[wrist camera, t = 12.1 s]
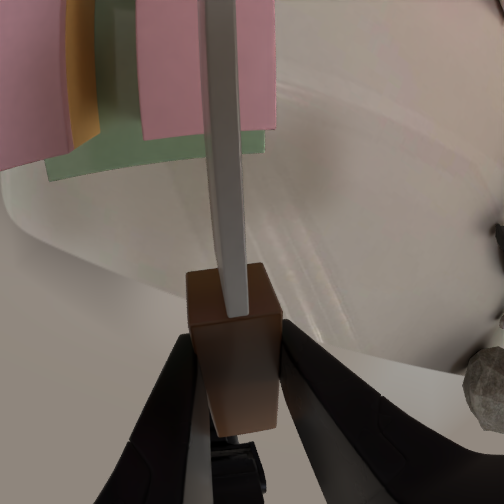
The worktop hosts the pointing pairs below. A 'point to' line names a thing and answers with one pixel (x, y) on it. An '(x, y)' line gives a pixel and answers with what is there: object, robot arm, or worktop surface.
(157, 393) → the robot arm
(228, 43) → the cake knife
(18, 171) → the worktop surface
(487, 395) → the rock
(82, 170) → the cake stand
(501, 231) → the knife
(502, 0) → the toy creature
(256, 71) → the cake
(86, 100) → the cake slice
